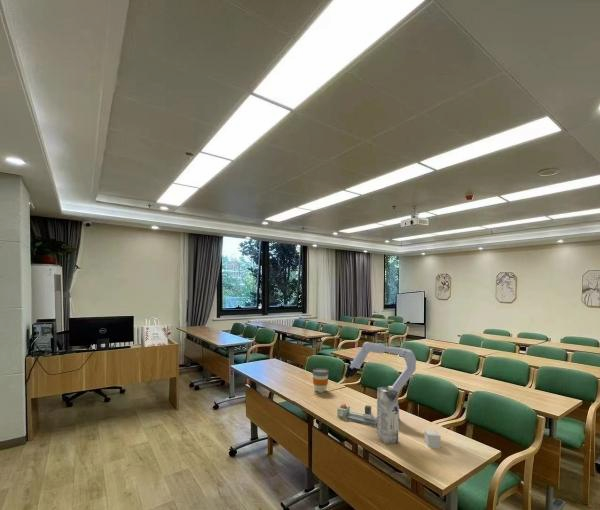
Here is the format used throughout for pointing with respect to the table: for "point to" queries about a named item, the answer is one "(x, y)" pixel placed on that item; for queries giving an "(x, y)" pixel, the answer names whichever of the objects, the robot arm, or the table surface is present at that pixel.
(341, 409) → the end cabinet
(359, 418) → the rail board
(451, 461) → the table surface
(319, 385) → the reusable coffee cup
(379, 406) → the juice carton
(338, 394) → the table surface
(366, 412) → the carriage
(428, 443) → the light grey cube
